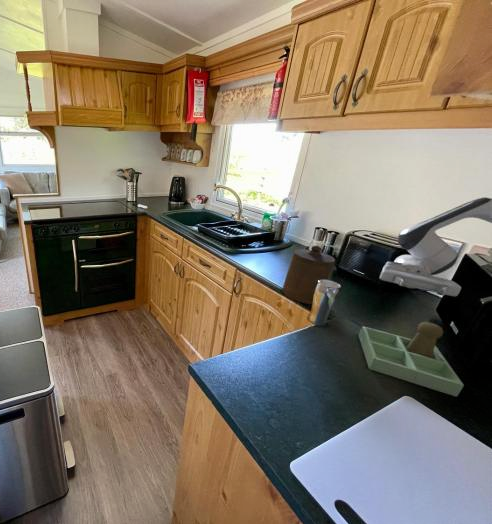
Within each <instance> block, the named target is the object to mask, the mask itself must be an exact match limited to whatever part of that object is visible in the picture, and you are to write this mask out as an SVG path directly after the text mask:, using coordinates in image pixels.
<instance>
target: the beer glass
mask: <svg viewBox="0 0 492 524" xmlns="http://www.w3.org/2000/svg"><path fill="white" fill-rule="evenodd" d="M341 287H342V285H341V284H340V283H338V282H336V281H334V280H325V279H321V280H319V281H318V284H317V286H316V288H315V291H314V294H313V301H312V304H311V308H310V312H309V314H308V315H307V317H306V320H307V321H308V322H309V323H310V324H313V325H315V326H318V327H325V326H327V323H328V317H329V314H330V313H331V311H332V310H333V308H334V307H335V305H336V303H337V301H338V299H339V295H340V291H341V289H342V288H341Z"/></svg>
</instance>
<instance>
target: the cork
mask: <svg viewBox="0 0 492 524" xmlns="http://www.w3.org/2000/svg"><path fill="white" fill-rule="evenodd" d="M416 328H417V332H416V333H415V335H414V336H413V337H412V338H411V339H412V340H411V341H410V343H409V344H408V345H407V347H406V350H407V351H408V352H411V353H415V354H418V355H422V356H425V357H429V358H431V356H432V353H433V350H434V347H435V346H436V344H437V340H438V339H439V338H441V337H442V336H443V334H444V330H443V327H441V326H439V325H438V324H436V323H433V322H429V321H421V322H420V323H419V324H418V325H417V327H416Z"/></svg>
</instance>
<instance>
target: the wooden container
mask: <svg viewBox="0 0 492 524" xmlns="http://www.w3.org/2000/svg"><path fill="white" fill-rule="evenodd" d="M310 248H311V249H303V248H302V249H301V248H299V249H295V250H294V251H293V254H292V257H291V261H290V264H289V267H288V269H287V273H286V276H285V279H284V283H283V286H282V293H283V295H284V296H286V297H287V298H289V299H290V300H293V301H295V302H298V303H302V304H307V305H312V301H313V294H314V291H315V288H316V286H317V284H318V281H319V280H321V279H325V280H329V279H330V276H331V273H332V269H333V268H334V266H335V263H336V259H335V258H334V257H333V256H332V255H329V254H327V253H324V252H321V251H322V248H321V246H319V245H312V246H311V247H310Z"/></svg>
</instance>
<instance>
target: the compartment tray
mask: <svg viewBox="0 0 492 524" xmlns="http://www.w3.org/2000/svg"><path fill="white" fill-rule="evenodd" d="M358 338H359V342H360V345H361V349H362V351H363V354H364V357H365V361H366V364H367V366H368V369H369V370H371V371H374V372H378V373H381V374H383V375H387V376H390V377H393V378H397V379H400V380H403V381H405V382H409V383H412V384H415V385H419V386H421V387H425V388H428V389H431V390H433V391H437V392H440V393H443V394H445V395H446V394H447V395H448V396H449V395H450V396H453V397H456V398H458V396H459V394H460V393H461V391H462V390H463V388H464V386H465V385H464V383H463V382H462V381H461V379H460V378H459V376H458V375H457V373H456V372H455V371H454V369H453V368H452V366H451V365H450V363H449V362H448V360H447V359H446V357H444V355H443V354H442V352H441V351H440V350H439V348H438V347H437V345H435V347H434V350H433V353H432V356H431V358H429V357H425V356H422V355H418V354H415V353H411V352H408V351H407V350H406V347H407V345H408V344H409V343H410V341H411V340H412V339H413V338H408V337H404V336H401V335H397V334H393V333H390V332H387V331H382V330H379V329H376V328H371V327H367V326H364V325H362V327H361V328H360V331H359V334H358Z"/></svg>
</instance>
